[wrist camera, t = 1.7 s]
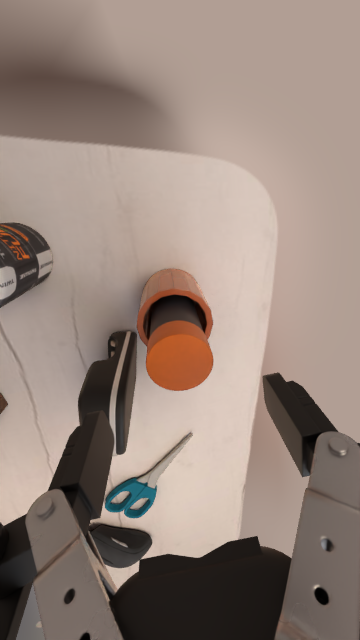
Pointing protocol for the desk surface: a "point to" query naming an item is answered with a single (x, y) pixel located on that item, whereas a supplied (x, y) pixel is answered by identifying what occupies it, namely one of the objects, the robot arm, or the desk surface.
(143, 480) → the scissors
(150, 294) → the pen cup
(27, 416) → the desk surface
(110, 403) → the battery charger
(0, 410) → the shelf
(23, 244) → the pill bottle
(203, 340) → the cylinder
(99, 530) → the computer mouse
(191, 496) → the desk surface
